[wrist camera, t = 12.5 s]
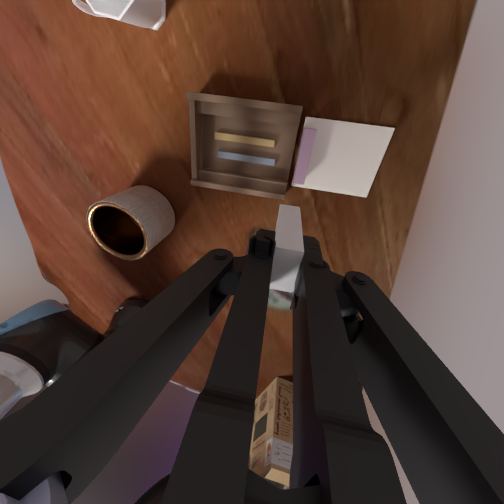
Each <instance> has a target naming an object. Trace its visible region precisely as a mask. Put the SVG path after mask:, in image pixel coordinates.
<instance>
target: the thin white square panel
mask: <svg viewBox="0 0 504 504" xmlns="http://www.w3.org/2000/svg"><path fill="white" fill-rule="evenodd" d="M394 130H395V128H390V127H383V126H375V125H367V124H359V123H352V122H344V121H336V120H328V119H321V118H313V117H305V122H304V127H303V132H302V137H301V141H300V146H299V151H298V156H297V161H296V165H295V170H294V175H293V180H292V185H291V186H296V187H302V188H309V189H315V190H322V191H328V192H334V193H341V194H347V195H353V196H360V197H366V198H367V195H368V193H369V190H370V188H371V185H372V183H373V181H374V178H375V176H376V173H377V171H378V168H379V166H380V164H381V161H382V159H383V156H384V154H385V152H386V149H387V147H388V144H389V142H390V139H391V137H392V135H393V132H394Z"/></svg>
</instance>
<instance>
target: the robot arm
mask: <svg viewBox="0 0 504 504" xmlns="http://www.w3.org/2000/svg"><path fill="white" fill-rule="evenodd" d="M294 287H295V293H294V296H293V300H292V303H291V307H290V309H292V307H293V454H292V461H291V467H290V479H289V489H279V488H277V487H276V486H274V485H273V484H271V483H270V482H268V481H267V480H265V479H264V478H262V477H261V476H259V475H258V474H256V473H255V472H253V471H251V470H250V469H248V463H249V455H250V447H251V439H252V431H253V423H254V414H255V397H256V389H257V381H258V373H259V366H260V358H261V350H262V342H263V335H264V327H265V319H266V311H267V304H268V296H269V288H270V289H275V290H281V291H286V292H291V293H293V290H294ZM231 295H234V299H233V302H232V305H231V308H230V311H229V314H228V317H227V320H226V323H225V326H224V329H223V332H222V335H221V338H220V342H219V345H218V348H217V351H216V354H215V357H214V360H213V363H212V366H211V369H210V372H209V375H208V378H207V381H206V384H205V387H204V389H203V391H202V392H201V393H200V394H199V396H198V398H197V400H196V402H195V405H194V408H193V410H192V413H191V416H190V420H189V423H188V425H187V428H186V431H185V434H184V437H183V440H182V443H181V446H180V448H179V452H178V454H177V457H176V460H175V463H174V466H173V469H172V472H171V473H170V474H168V475H167V476H165V477H164V478H162V479H161V480H159V481H158V482H157V483H156V484H154V485H153V486H152V487H151V488H150V489H149V490H148V491H147V492H145V493H144V494H143V495H142V496H141V497H140V498H139V499H138V500H137V502H136V503H135V504H407V503H406V500H405V497H404V493H403V490H402V487H401V483H400V480H399V477H398V473H397V470H396V467H395V463H394V460H393V457H392V455H391V452H390V449H389V447H388V445H387V443H386V441H385V440H384V438H383V437H382V436H381V435H380V434H378V433H377V432H375V431H374V430H373V428H372V427H371V424H370V421H369V418H368V414H367V410H366V406H365V403H364V399H363V395H362V391H361V387H360V383H359V379H360V381H361V383H362V385H363V387H364V389H365V391H366V393H367V395H368V398H369V400H370V402H371V404H372V406H373V408H374V410H375V412H376V414H377V416H378V418H379V420H380V422H381V425H382V427H383V429H384V430H385V433H386V435H387V437H388V439H389V441H390V443H391V445H392V447H393V449H394V451H395V454H396V456H397V458H398V460H399V462H400V464H401V466H402V468H403V470H404V472H405V474H406V476H407V478H408V480H409V483H410V484H411V487H412V489H413V491H414V493H415V495H416V497H417V499H418V501H419V503H420V504H504V434H503V433H502V432H501V430H500V429H499V428H498V427H497V426H496V425H495V424H494V422H493V421H492V420H491V419H490V418H489V416H488V415H487V414H486V413H485V412H484V411H483V409H482V408H481V407H480V406H479V405H478V403H477V402H476V401H475V400H474V399H473V398H472V396H471V395H470V394H469V393H468V392H467V391H466V389H465V388H464V387H463V386H462V385H461V383H460V382H459V381H458V380H457V379H456V378H455V376H454V375H453V374H452V373H451V372H450V371H449V369H448V368H447V367H446V366H445V365H444V364H443V362H442V361H441V360H440V359H439V358H438V357H437V355H436V354H435V353H434V352H433V351H432V349H431V348H430V347H429V346H428V345H427V343H426V342H425V341H424V340H423V339H422V338H421V337H420V335H419V334H418V333H417V332H416V331H415V329H414V328H413V327H412V326H411V325H410V324H409V322H408V321H407V320H406V319H405V318H404V316H403V315H402V314H401V313H400V312H399V311H398V309H397V308H396V307H395V306H394V305H393V304H392V303H391V301H390V300H389V299H388V298H387V296H386V295H385V294H384V293H383V292H382V291H381V289H380V288H379V287H378V286H377V285H376V284H375V282H374V281H373V280H372V279H371V278H370V277H368V276H367V275H365V274H363V273H361V272H355V271H350V272H347V273H346V274H345V277H344V276H341V275H339V274H336V273H334V272H332V271H330V267H329V265H328V263H326V262H325V261H324V260H323V258H322V254H321V249H320V245H319V241H318V240H317V239H316V238H315V237H310V236H304V235H303V234H302V224H301V214H300V207H295V206H289V205H283V204H280V207H279V213H278V218H277V224H276V229H275V231H270V230H264V229H260V230H259V231H257V233H256V235H254V236H252V237H251V238H250V244H249V252H248V255H246V256H242V257H233V254H232V253H231V252H230V251H228V250H226V249H214V250H211V251H210V252H208V253H207V254H206V255H205V256H203V257H202V258H201V259H200V260H199V261H197V262H196V263H195V264H194V265H193V266H191V267H190V268H189V269H188V270H187V271H186V272H184V273H183V274H182V275H181V276H180V277H178V278H177V279H176V280H175V281H174V282H172V283H171V284H170V285H169V286H168V287H166V288H165V289H164V290H163V291H162V292H161V293H159V294H158V295H157V296H156V297H155V298H153V299H152V300H151V301H150V302H146V301H143V300H138V299H129V300H126V301H124V302H123V303H122V304H121V305H120V306H119V307H118V308H117V310H116V312H115V314H114V316H113V318H112V320H111V323H110V325H109V327H108V329H107V330H106V332H105V333H104V334H103V335H102V334H101V333H99V332H98V331H97V330H95V329H94V328H93V327H91V326H90V325H89V324H88V323H86V322H85V321H84V320H82V319H81V318H80V317H78V316H77V315H76V314H74V313H73V312H72V311H71V309H70V308H66V307H65V306H63V305H62V304H60V303H59V302H58V301H56V300H44V301H41V302H39V303H37V304H35V305H33V306H31V307H29V308H27V309H25V310H23V311H22V312H20V313H18V314H16V315H14V316H13V317H11V318H9V319H8V320H6V321H5V322H4V323H1V324H0V419H1V418H2V417H3V416H4V415H5V414H6V413H7V411H8V410H9V409H10V408H11V407H12V406H13V405H14V404H15V403H16V402H17V401H18V400H19V399H20V398H21V397H24V396H27V395H31V394H34V393H37V392H38V391H40V390H41V389H42V388H43V387H44V385H47V386H49V387H48V388H46V389H45V390H44V391H43V392H42V393H40V394H39V395H38V396H37V397H36V398H35V399H34V400H32V401H31V402H30V403H28V404H27V405H26V406H25V407H24V408H22V409H20V410H19V411H17V412H15V413H13V414H12V415H10V416H8V417H7V418H5V419H3V420H2V421H0V504H71V503H72V502H73V501H74V500H75V499H76V498H77V497H78V496H79V495H80V494H81V493H82V492H83V491H84V490H85V488H86V487H87V486H88V485H89V484H90V483H91V482H92V481H93V480H94V479H95V477H96V476H97V475H98V474H99V473H100V472H101V471H102V469H103V468H104V467H105V466H106V464H107V463H108V462H109V461H110V459H111V458H112V457H113V455H114V454H115V453H116V452H117V450H118V449H119V448H120V446H121V445H122V444H123V442H124V441H125V440H126V438H127V437H128V436H129V434H130V433H131V431H132V430H133V429H134V427H135V426H136V425H137V423H138V422H139V421H140V419H141V418H142V416H143V415H144V414H145V412H146V411H147V410H148V408H149V407H150V406H151V404H152V403H153V401H154V400H155V399H156V398H157V396H158V395H159V393H160V392H161V391H162V389H163V388H164V387H165V385H166V384H167V383H168V381H169V380H170V379H171V377H172V376H173V375H174V373H175V372H176V370H177V369H178V368H179V366H180V365H181V364H182V362H183V361H184V360H185V358H186V357H187V356H188V354H189V353H190V351H191V350H192V349H193V347H194V346H195V345H196V343H197V342H198V341H199V339H200V338H201V337H202V335H203V334H204V332H205V331H206V330H207V328H208V327H209V326H210V324H211V323H212V322H213V320H214V319H215V318H216V316H217V315H218V313H219V312H220V311H221V309H222V308H223V307H224V305H225V304H226V303H227V301H228V300H229V299H230V296H231ZM359 314H361V316H362V318H363V320H362V319H361V318H360V317H359ZM358 377H359V379H358Z"/></svg>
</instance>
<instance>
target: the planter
mask: <svg viewBox="0 0 504 504" xmlns="http://www.w3.org/2000/svg"><path fill="white" fill-rule="evenodd" d="M86 221H87V226H88V229H89V231H90V233H91V235H92V236H93V238H94V239H95V241H96V242H97V243H98V244H99V245H100V246H101V247H102V248H103V249H104V250H106V251H107V252H108V253H110V254H112V255H114V256H116V257H118V258H121V259H125V260H137V259H140V258H142V257H143V256H144V255H145V254H147V253H148V252H149V251H150V250H151V249H152V248H153V247H155V246H156V245H157V244H158V243H159V242H160V241H162V240H163V239H164V238H165V237H166V236H167V235H168V234H170V232H171V231H172V230H173V228H174V225H175V214H174V210H173V208H172V206H171V204H170V203H169V201H168V200H167V199H166V197H165V196H164V195H162V194H161V193H160V192H159V191H157V190H155V189H154V188H151V187H148V186H144V185H138V186H133V187H130V188H128V189H126V190H123V191H121V192H119V193H117V194H114V195H112V196H110V197H108V198H105V199H103V200H100V201H98V202H96V203H94V204H92V205H91V206H90V207H89V209H88V211H87V215H86Z"/></svg>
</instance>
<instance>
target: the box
mask: <svg viewBox="0 0 504 504" xmlns="http://www.w3.org/2000/svg"><path fill="white" fill-rule="evenodd" d="M292 454H293V382H290V381H287V380H285V379H282V378H280V377H276V378H275V379H274V380H273V382H272V383H271V384H270V385H269V386H268V387H267V388H266V389H265V390H264V391H263V392H262V393H261V395H260V396H259V397H258V398H257V399H256V400H255V414H254V423H253V431H252V439H251V447H250V455H249V463H248V469H250V470H251V471H253V472H255V473H256V474H258V475H259V476H261V477H262V478H264V479H265V480H267V481H268V482H270V483H271V484H273V485H274V486H276V487H277V488H279V489H289V479H290V467H291V461H292Z"/></svg>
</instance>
